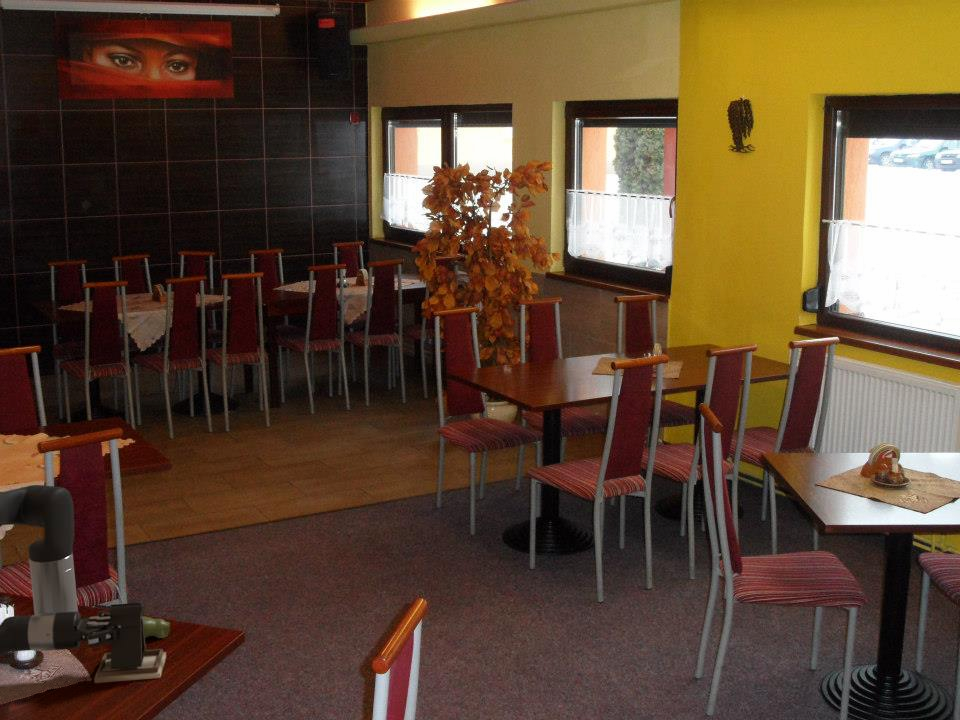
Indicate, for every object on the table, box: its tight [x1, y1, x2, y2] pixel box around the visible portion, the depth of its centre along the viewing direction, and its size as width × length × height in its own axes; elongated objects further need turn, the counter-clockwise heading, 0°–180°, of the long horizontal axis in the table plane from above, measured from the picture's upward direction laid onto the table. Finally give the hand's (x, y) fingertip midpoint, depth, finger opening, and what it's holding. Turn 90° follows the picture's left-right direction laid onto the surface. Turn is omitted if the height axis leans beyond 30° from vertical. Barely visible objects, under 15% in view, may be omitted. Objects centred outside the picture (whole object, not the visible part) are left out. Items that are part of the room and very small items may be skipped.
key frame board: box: [93, 648, 167, 684], centre depth 236 cm, size 10×13×2 cm
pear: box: [142, 615, 171, 639], centre depth 251 cm, size 6×5×10 cm
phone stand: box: [109, 602, 147, 669], centre depth 234 cm, size 9×6×12 cm, turn 10°
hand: (141, 626), depth 235 cm, fingers closed on phone stand
